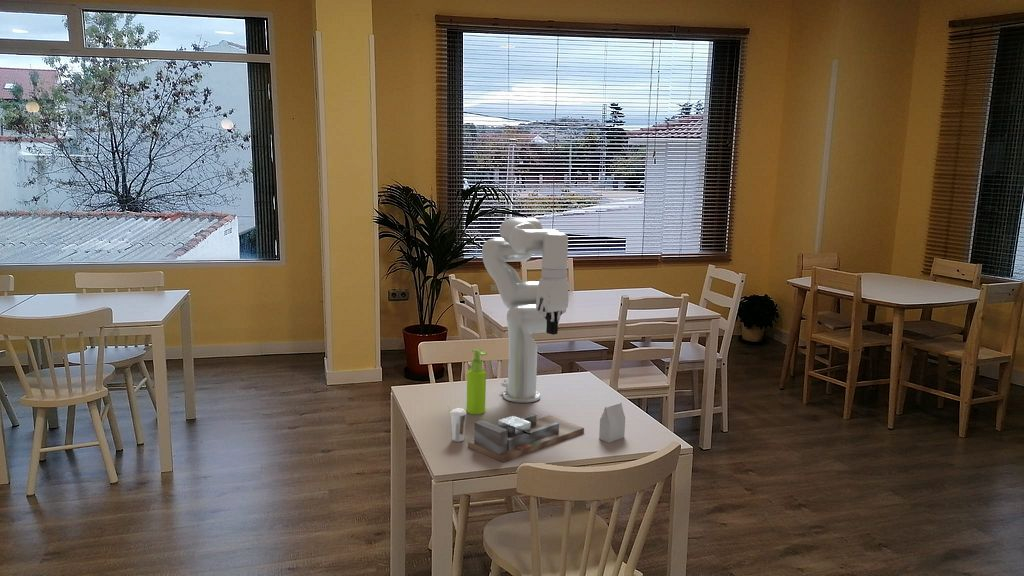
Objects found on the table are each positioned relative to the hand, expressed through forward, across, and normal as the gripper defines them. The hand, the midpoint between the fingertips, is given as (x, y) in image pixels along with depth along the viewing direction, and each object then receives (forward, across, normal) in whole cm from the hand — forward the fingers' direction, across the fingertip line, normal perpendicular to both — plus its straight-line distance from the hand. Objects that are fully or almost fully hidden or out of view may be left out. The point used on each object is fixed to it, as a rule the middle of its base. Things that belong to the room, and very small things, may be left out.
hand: (551, 333), depth 224 cm
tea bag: (+27, -2, +23) cm, 36 cm away
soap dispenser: (+27, +13, -19) cm, 36 cm away
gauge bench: (+27, +18, +8) cm, 33 cm away
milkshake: (+27, +33, -5) cm, 43 cm away
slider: (+25, +25, +10) cm, 37 cm away
